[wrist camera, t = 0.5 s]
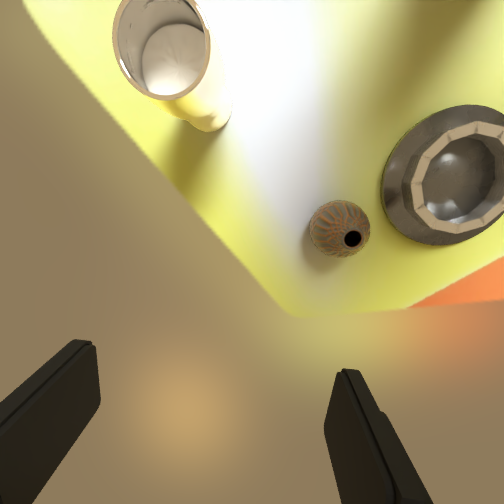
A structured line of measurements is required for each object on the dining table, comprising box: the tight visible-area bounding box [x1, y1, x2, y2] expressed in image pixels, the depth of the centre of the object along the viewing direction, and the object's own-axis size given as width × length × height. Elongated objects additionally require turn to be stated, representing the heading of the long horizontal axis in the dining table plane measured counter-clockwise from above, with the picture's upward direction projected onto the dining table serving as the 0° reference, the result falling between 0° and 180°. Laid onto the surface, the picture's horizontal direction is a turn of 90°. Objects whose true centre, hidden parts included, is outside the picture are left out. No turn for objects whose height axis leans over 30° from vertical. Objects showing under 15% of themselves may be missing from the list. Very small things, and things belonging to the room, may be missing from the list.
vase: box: [310, 201, 370, 257], centre depth 30 cm, size 7×7×9 cm
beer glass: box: [112, 0, 232, 132], centre depth 24 cm, size 7×7×15 cm
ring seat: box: [381, 105, 504, 245], centre depth 31 cm, size 17×17×3 cm
